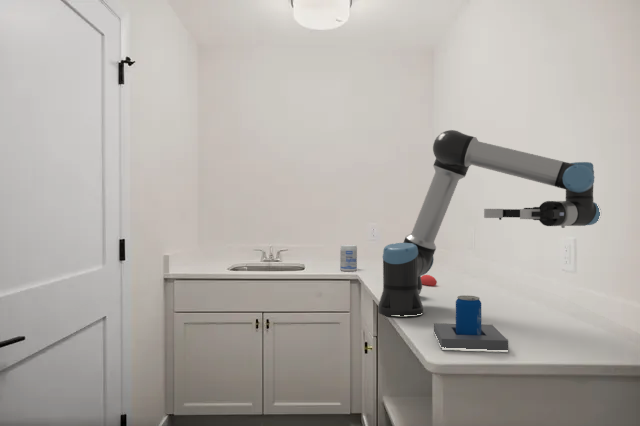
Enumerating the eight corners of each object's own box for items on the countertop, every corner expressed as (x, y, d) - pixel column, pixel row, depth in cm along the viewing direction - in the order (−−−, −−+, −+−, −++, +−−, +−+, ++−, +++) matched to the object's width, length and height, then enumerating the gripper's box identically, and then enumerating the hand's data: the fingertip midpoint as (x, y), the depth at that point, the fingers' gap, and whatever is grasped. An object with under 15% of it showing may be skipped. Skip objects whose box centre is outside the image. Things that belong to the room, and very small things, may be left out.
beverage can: (473, 347, 119) (472, 300, 119) (450, 342, 124) (450, 297, 124) (486, 342, 123) (486, 297, 123) (464, 337, 128) (464, 294, 128)
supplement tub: (347, 272, 262) (347, 246, 262) (337, 270, 270) (336, 245, 270) (360, 270, 268) (360, 245, 268) (350, 269, 276) (349, 244, 276)
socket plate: (433, 333, 132) (433, 323, 132) (492, 335, 130) (492, 324, 130) (441, 350, 116) (441, 338, 116) (508, 352, 114) (508, 340, 114)
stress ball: (424, 290, 212) (431, 278, 211) (415, 280, 220) (421, 268, 219) (433, 292, 215) (439, 281, 213) (423, 283, 223) (430, 272, 221)
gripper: (595, 227, 129) (538, 228, 120) (523, 224, 152) (471, 225, 143) (595, 200, 129) (538, 199, 120) (523, 201, 151) (471, 200, 143)
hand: (502, 213), depth 132 cm, fingers open, 13 cm apart
